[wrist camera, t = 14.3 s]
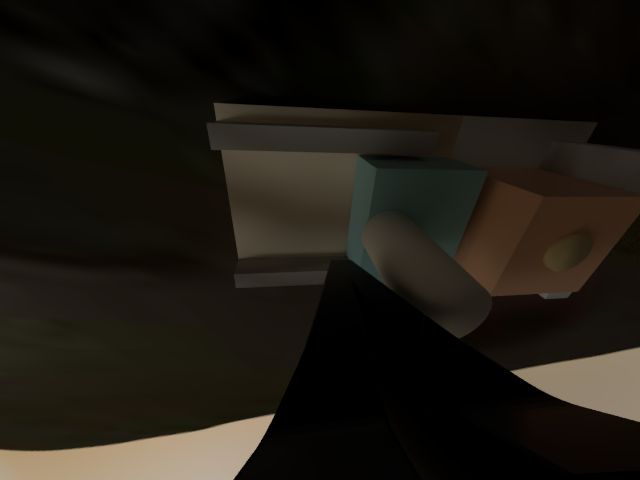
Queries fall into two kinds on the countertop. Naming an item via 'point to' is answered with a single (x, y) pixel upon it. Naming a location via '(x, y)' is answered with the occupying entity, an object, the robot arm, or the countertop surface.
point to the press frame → (340, 166)
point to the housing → (541, 230)
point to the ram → (419, 234)
